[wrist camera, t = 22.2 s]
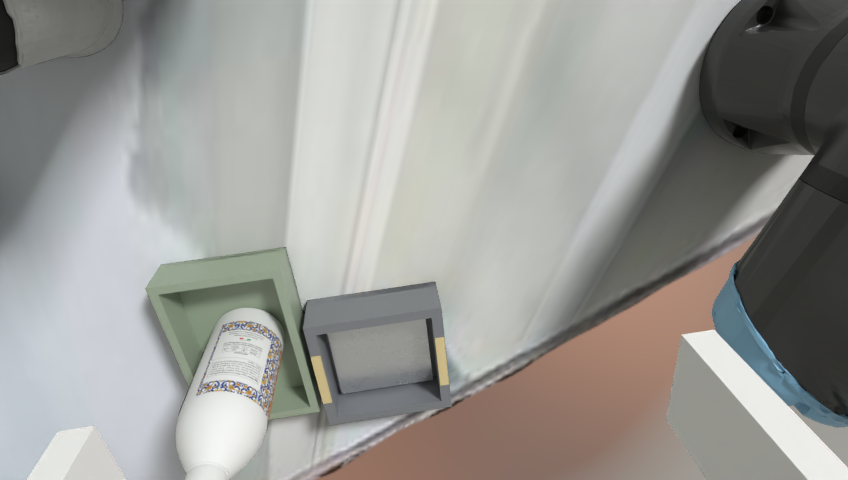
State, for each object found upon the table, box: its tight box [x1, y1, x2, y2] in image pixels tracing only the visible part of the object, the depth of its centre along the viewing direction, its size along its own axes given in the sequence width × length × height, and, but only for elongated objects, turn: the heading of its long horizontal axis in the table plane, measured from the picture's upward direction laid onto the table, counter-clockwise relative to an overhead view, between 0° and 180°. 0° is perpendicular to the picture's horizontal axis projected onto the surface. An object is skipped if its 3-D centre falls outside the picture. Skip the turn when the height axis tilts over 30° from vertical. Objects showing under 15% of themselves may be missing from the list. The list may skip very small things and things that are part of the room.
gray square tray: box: [303, 282, 452, 426], centre depth 52 cm, size 13×13×5 cm
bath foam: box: [175, 308, 285, 480], centre depth 43 cm, size 7×7×20 cm
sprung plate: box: [327, 319, 433, 394], centre depth 53 cm, size 10×10×1 cm
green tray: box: [145, 247, 321, 420], centre depth 50 cm, size 12×18×4 cm, turn 7°
